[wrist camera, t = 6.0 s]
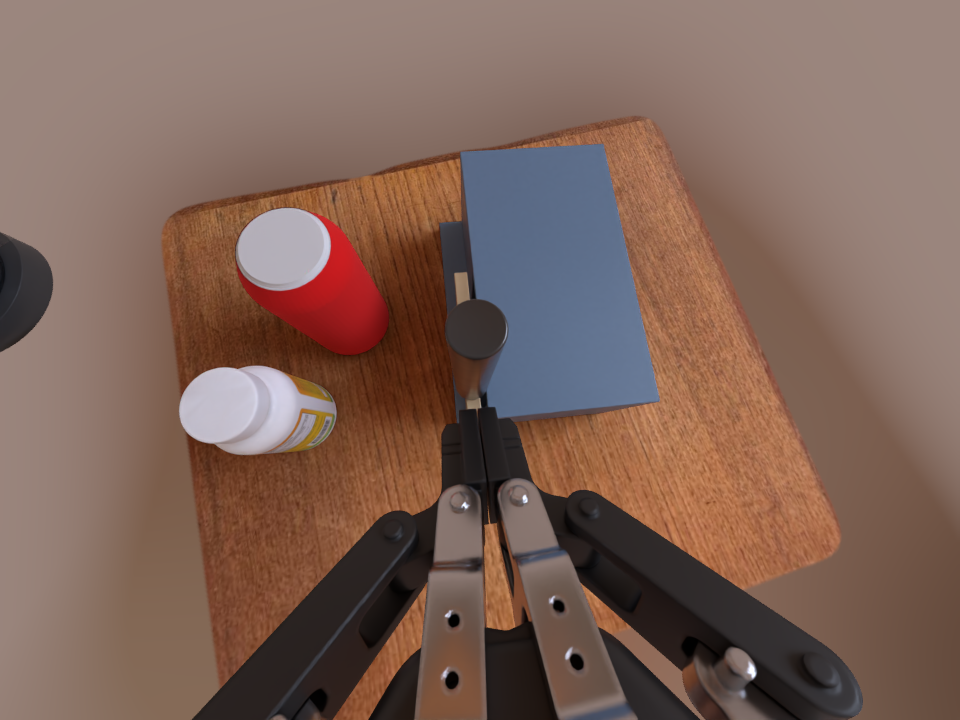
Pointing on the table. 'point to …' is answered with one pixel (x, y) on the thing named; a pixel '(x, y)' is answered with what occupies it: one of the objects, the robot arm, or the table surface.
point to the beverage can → (311, 279)
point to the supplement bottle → (256, 411)
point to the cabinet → (550, 282)
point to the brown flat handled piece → (474, 342)
